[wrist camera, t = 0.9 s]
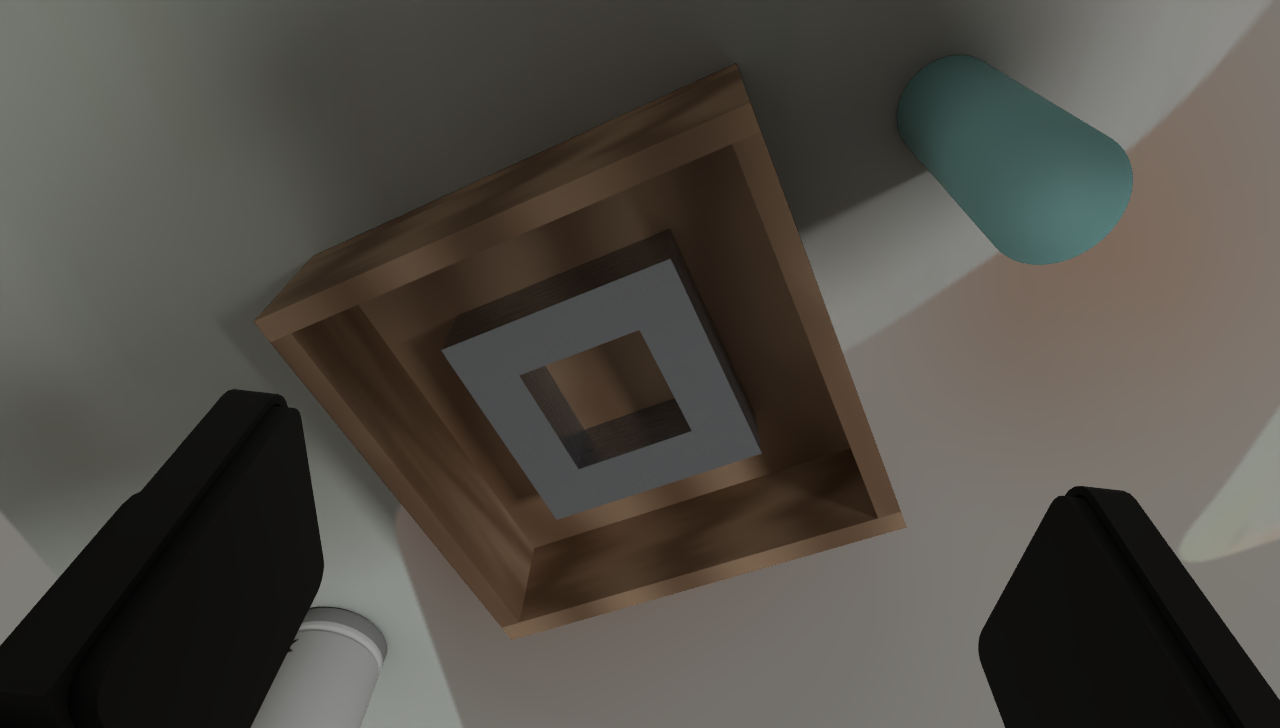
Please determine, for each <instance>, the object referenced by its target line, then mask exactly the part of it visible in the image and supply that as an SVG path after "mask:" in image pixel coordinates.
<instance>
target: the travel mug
mask: <svg viewBox="0 0 1280 728" xmlns="http://www.w3.org/2000/svg"><path fill="white" fill-rule="evenodd" d="M386 654H387V644H386V640H385V638H384V636H383V634H382V632H381V631H380V630H379V629H378V628H377V627H376V626H375V625H374V624H373V623H371V622H370V621H369V620H367V619H366V618H364V617H362V616H360V615H358V614H356V613H353V612H350V611H347V610H343V609H337V608H314V609H310V610H308V612H307V614H306V616H305V618H304V620H303V622H302V624H301V626H300V628H299V630H298V633H297V635H296V637H295V639H294V641H293V643H292V645H291V647H290V649H289V651H288V653H287V655H286V657H285V659H284V661H283V663H282V665H281V667H280V669H279V671H278V673H277V675H276V677H275V679H274V681H273V683H272V685H271V687H270V689H269V691H268V693H267V695H266V698H265V700H264V702H263V704H262V706H261V708H260V710H259V712H258V714H257V716H256V718H255V720H254V722H253V724H252V726H251V728H360V727H361V724H362V721H363V718H364V715H365V713H366V710H367V707H368V704H369V701H370V699H371V696H372V693H373V690H374V687H375V685H376V682H377V679H378V676H379V673H380V671H381V668H382V665H383V662H384V659H385V657H386Z"/></svg>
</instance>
